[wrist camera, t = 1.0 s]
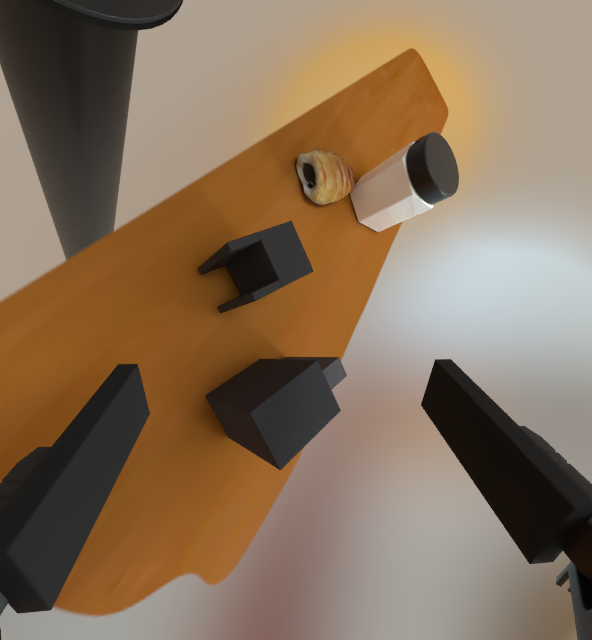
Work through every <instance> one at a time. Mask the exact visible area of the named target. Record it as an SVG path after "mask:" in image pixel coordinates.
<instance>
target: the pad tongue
mask: <svg viewBox="0 0 592 640" xmlns="http://www.w3.org/2000/svg"><path fill="white" fill-rule="evenodd" d="M346 376H347V375H346V373H345V370H344V368H343V366H342V363H341V361H340V359H339V357H285V358H284V359H260V360H259V361H257V362H255V363H254V364H252V365H251V366H249V367H248V368H246V369H245V370H243V371H242V372H240V373H239V374H237V375H236V376H234V377H233V378H231V379H230V380H228V381H227V382H225V383H224V384H222V385H221V386H219V387H218V388H216V389H215V390H213V391H212V392H210V393H209V394H207V395H206V398H207V400H208V402H209V404H210V405H211V407H212V409H213V411H214V413H215V414H216V416H217V418H218V420H219V421H220V423H221V425H222V427H223V429H224V430H225V432H226V434H227V436H228V437H229V438H230V439H232V440H233V441H235V442H237V443H238V444H240V445H241V446H243V447H244V448H246V449H248V450H249V451H251V452H252V453H254V454H256V455H257V456H259V457H260V458H262V459H263V460H265V461H267V462H268V463H270V464H271V465H273V466H275V467H276V468H278V469H279V470H281V469H282V468H283V467H284V466H285V465H286V464H287V463H288V462H289V461H290V460H291V459H292V458H293V457H294V456H295V455H296V454H297V453H298V452H299V451H300V450H301V449H302V448H303V447H304V446H305V445H306V444H308V442H309V441H310V440H311V439H313V438H314V437H315V436H316V435H317V433H318V432H320V431H321V430H322V429H323V428H324V427H325V425H327V424H328V423H329V421H331V419H333V418H334V417H335V416H336V415H337V414H338V413H339V412H340V408H339V406H338V404H337V402H336V400H335V397H334V395H333V393H332V391H331V390H332V389H333V388H334V387H335V386H336V385H337V384H338V383H339V382H340V381H342V380H343V379H344V378H345V377H346Z"/></svg>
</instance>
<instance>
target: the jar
mask: <svg viewBox="0 0 592 640" xmlns="http://www.w3.org/2000/svg"><path fill="white" fill-rule="evenodd" d="M458 183H459V174H458V168H457V163H456V160H455V157H454V154H453V152H452V150H451V148H450V146H449V145H448V143H447V141H446V140H445V139H444V138H443V137H442V136H441V135H440V134H438V133H436V132H431V133H428V134H427V135H425V136H423V137H421V138H420V139H418V140H417V141H416V142H414V141H413V142H411V143H410V144H408V145H407V146H406V147H404V148H403V149H401V150H400V151H398V152H397V153H395V154H394V155H392V156H391V157H389V158H388V159H386V160H385V161H383V162H382V163H381V164H379V165H378V166H376V167H375V168H373V169H372V170H370V171H369V172H367V173H366V174H364V175H363V176H361V177H360V179H359V180H358V182H357V183H356V185H355V186H354V188H353V190H352V191H351V192H350V197H351V200H352V203H353V206H354V210H355V213H356V216H357V219H358V222H359V223H361V224H363V225H365V226H367V227H369V228H371V229H373V230H375V231H377V232H379V231H382V230H384V229H386V228H389V227H391V226H393V225H395V224H398V223H400V222H402V221H404V220H407V219H409V218H411V217H413V216H415V215H418V214H420V213H422V212H425V211H427V210H429V209H432V208H433V206H434V204H435V203H437V202H439V201H442V200H444V199H446V198H448V197H450V196H452V195H454V194H455V193H456V191H457V188H458Z"/></svg>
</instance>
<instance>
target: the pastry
mask: <svg viewBox="0 0 592 640" xmlns="http://www.w3.org/2000/svg"><path fill="white" fill-rule="evenodd" d="M296 169H297V172H298V175H299V178H300V180H301V182H302V184H303V188H304V192H305V194H306V196H307V197H308V198H309V199H311V201H313V202H314V203H316V204H319V205H325V204H328V203H332V202H336V201H338V200H340V199H342V198H343V197H345V196H346V195H347V194H349V193H350V192H351V191H352V190H353V188H354V185H355V183H354V177H353V170H352V168H351V167H350V166H349V165H348V164H347V163H346V162H344V160H343V159H342V158H339V157H338V155H337V154H333V153H332V152H330V151H327V152H323V151H322V150H321V149H314V150H313V151H311V152H308V153H301V154H300V155H299V156H298V159H297V164H296Z"/></svg>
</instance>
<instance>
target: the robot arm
mask: <svg viewBox="0 0 592 640" xmlns="http://www.w3.org/2000/svg"><path fill="white" fill-rule="evenodd" d="M421 406H422V407H423V409H424V410H425V412H426V413H427V414H428V416H429V417H430V419H431V420H432V422H433V423H434V425H435V426H436V428H437V429H438V431H439V432H440V433H441V435H442V436H443V438H444V439H445V441H446V442H447V444H448V445H449V447H450V448H451V450H452V451H453V452H454V454H455V455H456V457H457V458H458V460H459V461H460V463H461V464H462V466H463V467H464V469H465V470H466V472H467V473H468V474H469V476H470V477H471V479H472V480H473V482H474V483H475V485H476V486H477V488H478V489H479V490H480V492H481V494H482V495H483V496H484V498H485V499H486V501H487V502H488V504H489V505H490V507H491V508H492V510H493V511H494V513H495V514H496V515H497V517H498V518H499V520H500V521H501V523H502V524H503V525H504V527H505V529H506V530H507V532H508V533H509V534H510V536H511V537H512V539H513V540H514V542H515V543H516V544H517V546H518V548H519V549H520V550H521V552H522V553H523V555H524V556H525V558H526V559H527V561H528V562H529V564H535V563H546V562H553V561H554V560H555V559H556V558H557V557H558V555H559V554H560V553H561V552H562V551H564V552H565V554H566V555H567V556H568V558H570V560H571V562H570V563H569V564H568V565H567V567H566V568H565V569H564V570H563V571H562V572H561V573H560V574H559V575H558V576H557V580H556V584H557V585H559V586H560V587H561V586H562V585H563V584H564V583H565V582H566V581H567V579H568V578H569V582H570V587H569V589H568V591H569V592H571V596H572V603H573V610H574V616H575V624H576V630H577V637H578V640H592V484H591V483H590V482H589V481H588V480H587V479H586V478H584V477H583V476H582V475H581V474H580V473H579V472H578V471H577V470H576V469H575V468H574V467H573V466H571V464H568V463H567V461H566V460H565V459H564V458H563V457H562V456H561V455H560V454H559V453H556V452H555V449H553V448H552V447H551V446H550V445H549V444H548V443H547V442H546V441H545V440H544V439H543V438H542V437H540V436H539V435H537V434H536V433H534V432H533V431H531V430H530V429H528V428H527V427H525V426H518V425H517V424H516V423H515V422H514V421H513V420H512V419H511V418H510V417H509V416H508V415H507V414H506V413H505V412H504V411H503V410H502V409H501V408H500V407H499V406H498V405H497V404H496V403H495V402H494V401H493V400H492V399H491V398H490V397H489V396H488V395H487V394H486V393H485V392H484V391H482V389H481V388H479V386H477V385H476V384H475V383H474V382H473V381H472V380H471V379H470V378H469V377H468V376H467V375H466V374H465V373H464V372H463V371H462V370H461V369H460V368H459V367H458V366H457V365H456V364H455V363H454V362H453V361H452V360H451V359H444V360H443V359H442V360H435V362H434V366H433V368H432V372H431V375H430V378H429V381H428V385H427V388H426V391H425V394H424V397H423V400H422V403H421ZM149 414H150V413H149V408H148V404H147V400H146V396H145V392H144V388H143V384H142V380H141V376H140V372H139V368H138V364H118V365H117V367H116V368H115V369H114V370H113V371H112V373H111V374H110V375H109V376H108V378H107V379H106V380H105V381H104V383H103V384H102V385H101V386H100V388H99V389H98V390H97V391H96V393H95V394H94V395H93V396H92V397H91V399H90V400H89V401H88V402H87V404H86V405H85V406H84V407H83V409H82V410H81V411H80V412H79V414H78V415H77V416H76V417H75V418H74V420H73V421H72V422H71V423H70V425H69V426H68V427H67V428H66V430H65V431H64V432H63V433H62V435H61V436H60V437H59V438H58V439H57V441H56V442H55V443H54V444H53V446H52V447H38V448H37V449H35V450H34V451H33V452H31V453H30V454H29V455H27V456H26V457H25V458H23V459H22V460H21V461H19V462H18V463H17V464H16V465H15V466H14V468H13V469H12V470H11V471H10V472H9V473H8V474H7V475H6V477H5V478H4V479H3V482H2V483H0V615H1V613H2V612H3V610H4V609H5V607H6V605H7V604H8V603H9V605H10V606H11V607H12V608H13V609H14V610H15V611H16V612H17V613H27V612H37V611H48V610H51V609H52V607H53V605H54V603H55V601H56V599H57V597H58V595H59V593H60V591H61V589H62V587H63V585H64V583H65V581H66V579H67V577H68V575H69V573H70V571H71V570H72V568H73V566H74V564H75V562H76V560H77V558H78V556H79V554H80V552H81V550H82V548H83V546H84V544H85V542H86V540H87V538H88V536H89V534H90V532H91V530H92V528H93V526H94V524H95V522H96V520H97V518H98V516H99V514H100V512H101V510H102V508H103V506H104V504H105V502H106V500H107V498H108V496H109V494H110V492H111V490H112V488H113V486H114V484H115V482H116V480H117V478H118V476H119V474H120V472H121V470H122V468H123V466H124V464H125V462H126V460H127V458H128V456H129V454H130V452H131V450H132V448H133V446H134V444H135V442H136V440H137V438H138V436H139V434H140V432H141V430H142V428H143V426H144V424H145V422H146V420H147V418H148V416H149ZM0 640H1V630H0Z"/></svg>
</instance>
